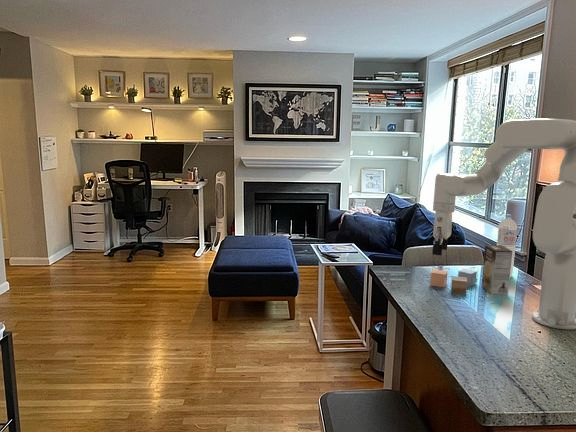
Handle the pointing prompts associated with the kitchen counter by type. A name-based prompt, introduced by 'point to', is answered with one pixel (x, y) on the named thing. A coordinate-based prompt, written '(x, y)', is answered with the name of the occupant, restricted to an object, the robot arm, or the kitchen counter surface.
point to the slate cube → (468, 276)
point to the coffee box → (496, 269)
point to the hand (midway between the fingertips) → (439, 252)
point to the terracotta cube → (438, 278)
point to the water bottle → (507, 236)
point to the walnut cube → (459, 285)
